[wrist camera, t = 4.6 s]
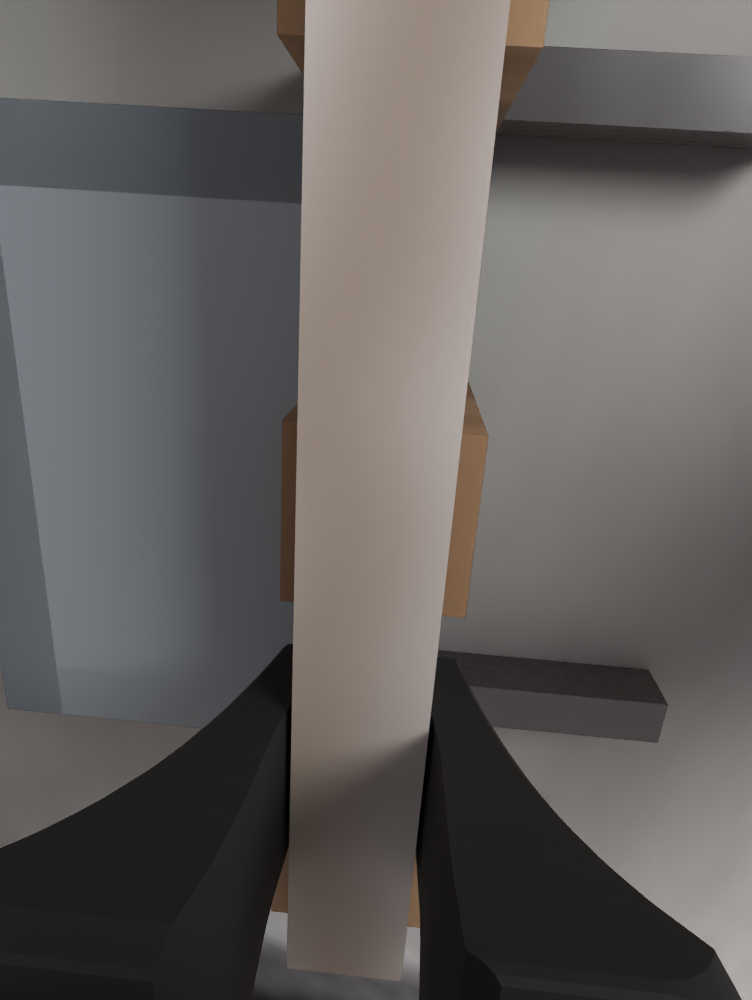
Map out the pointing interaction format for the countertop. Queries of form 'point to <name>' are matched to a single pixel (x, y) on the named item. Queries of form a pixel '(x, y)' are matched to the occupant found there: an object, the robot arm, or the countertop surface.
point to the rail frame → (632, 118)
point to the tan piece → (382, 436)
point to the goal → (144, 403)
